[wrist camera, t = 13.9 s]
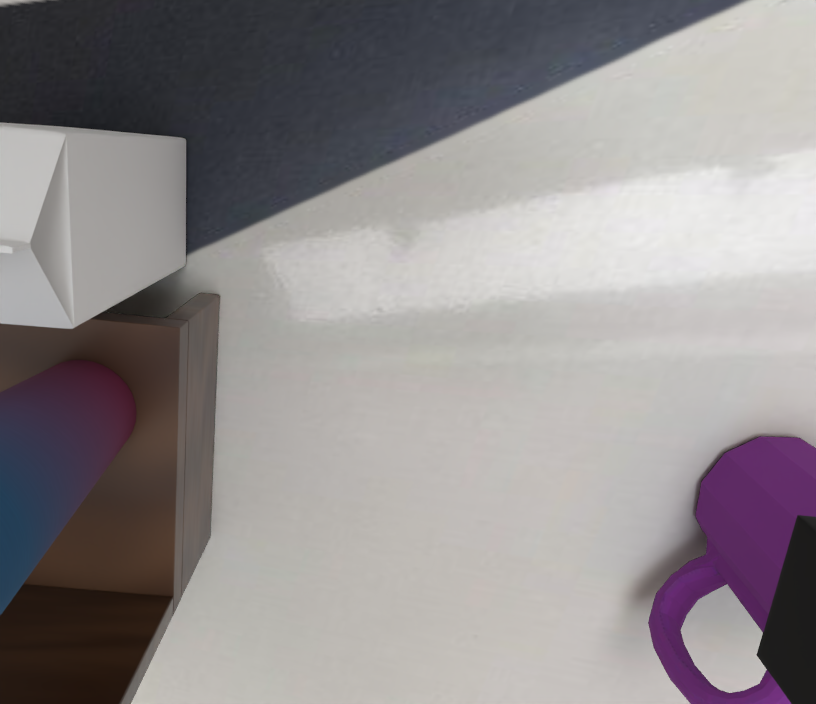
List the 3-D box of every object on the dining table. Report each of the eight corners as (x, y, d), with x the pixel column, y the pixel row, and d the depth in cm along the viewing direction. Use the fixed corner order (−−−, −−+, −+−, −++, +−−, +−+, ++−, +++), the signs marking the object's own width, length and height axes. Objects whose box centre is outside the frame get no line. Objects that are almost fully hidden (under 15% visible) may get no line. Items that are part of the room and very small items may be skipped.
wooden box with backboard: (-26, 269, 41) (-335, 357, 24) (220, 294, 42) (94, 399, 24) (-12, 517, 45) (-264, 747, 28) (210, 537, 46) (98, 773, 29)
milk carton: (187, 266, 41) (19, 360, 23) (62, 255, 41) (-210, 342, 22) (187, 137, 39) (5, 128, 21) (56, 125, 39) (-246, 105, 21)
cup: (80, 312, 34) (-157, 437, 19) (184, 415, 35) (36, 602, 21) (-16, 401, 35) (-308, 582, 20) (89, 497, 36) (-114, 728, 22)
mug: (862, 499, 46) (1076, 660, 31) (671, 641, 49) (787, 849, 34) (780, 402, 44) (968, 527, 30) (586, 556, 47) (671, 739, 32)
